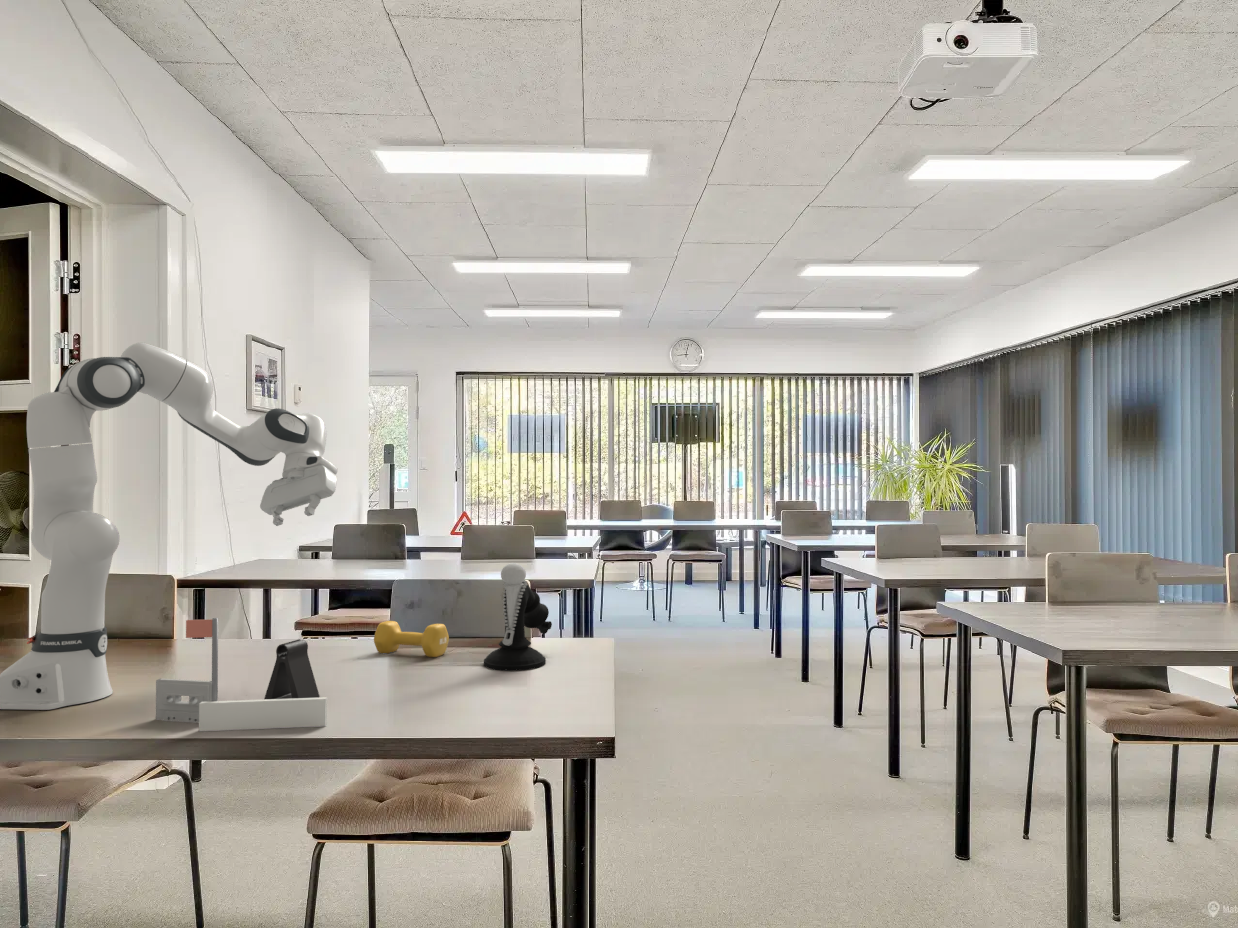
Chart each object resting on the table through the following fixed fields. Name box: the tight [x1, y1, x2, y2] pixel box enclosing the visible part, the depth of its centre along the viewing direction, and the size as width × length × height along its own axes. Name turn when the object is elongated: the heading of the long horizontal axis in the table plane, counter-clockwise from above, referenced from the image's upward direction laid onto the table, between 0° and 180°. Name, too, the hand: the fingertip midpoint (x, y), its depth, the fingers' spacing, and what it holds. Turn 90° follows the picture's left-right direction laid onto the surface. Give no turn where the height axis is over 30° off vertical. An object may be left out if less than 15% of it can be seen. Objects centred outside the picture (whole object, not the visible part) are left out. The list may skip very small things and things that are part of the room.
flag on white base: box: [185, 617, 328, 732], centre depth 154 cm, size 25×14×20 cm, turn 98°
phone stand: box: [263, 638, 320, 700], centre depth 167 cm, size 9×6×12 cm, turn 72°
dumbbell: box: [373, 620, 450, 658], centre depth 212 cm, size 19×9×8 cm, turn 71°
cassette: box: [155, 678, 212, 724], centre depth 153 cm, size 12×2×8 cm, turn 80°
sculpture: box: [483, 562, 553, 672], centre depth 204 cm, size 15×24×25 cm, turn 157°
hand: (293, 519), depth 194 cm, fingers open, 8 cm apart
